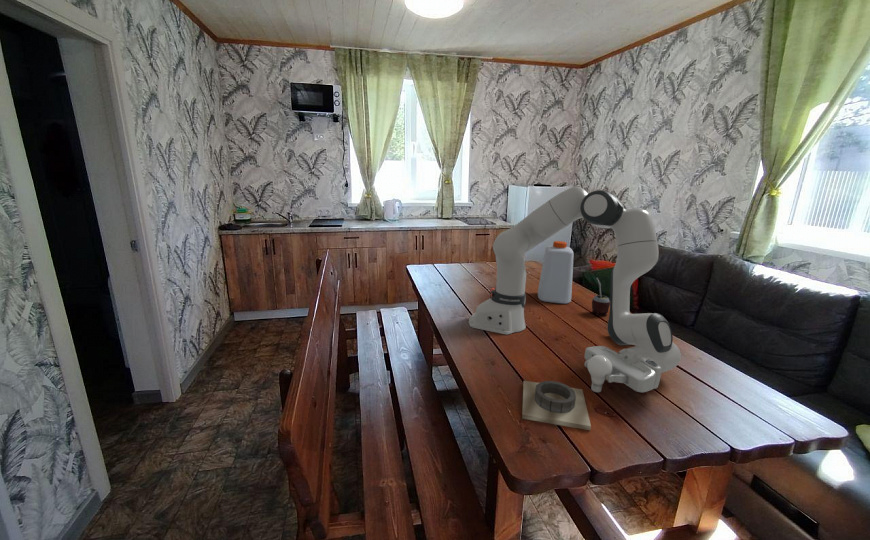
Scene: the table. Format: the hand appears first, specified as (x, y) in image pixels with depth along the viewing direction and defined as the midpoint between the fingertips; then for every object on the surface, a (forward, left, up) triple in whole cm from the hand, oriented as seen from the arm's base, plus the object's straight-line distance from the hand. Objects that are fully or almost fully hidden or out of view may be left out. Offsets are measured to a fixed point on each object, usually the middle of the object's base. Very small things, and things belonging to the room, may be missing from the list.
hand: (596, 371), depth 104 cm
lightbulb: (+1, +1, -7) cm, 7 cm away
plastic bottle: (-6, +81, -7) cm, 81 cm away
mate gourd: (+12, +66, -7) cm, 67 cm away
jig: (-11, -9, -7) cm, 16 cm away
